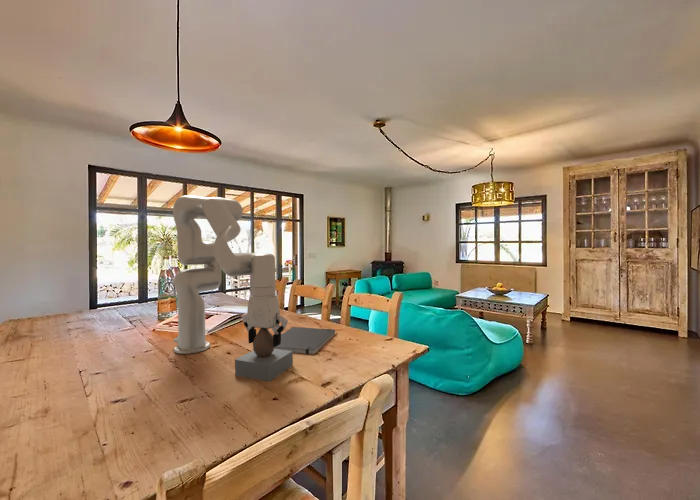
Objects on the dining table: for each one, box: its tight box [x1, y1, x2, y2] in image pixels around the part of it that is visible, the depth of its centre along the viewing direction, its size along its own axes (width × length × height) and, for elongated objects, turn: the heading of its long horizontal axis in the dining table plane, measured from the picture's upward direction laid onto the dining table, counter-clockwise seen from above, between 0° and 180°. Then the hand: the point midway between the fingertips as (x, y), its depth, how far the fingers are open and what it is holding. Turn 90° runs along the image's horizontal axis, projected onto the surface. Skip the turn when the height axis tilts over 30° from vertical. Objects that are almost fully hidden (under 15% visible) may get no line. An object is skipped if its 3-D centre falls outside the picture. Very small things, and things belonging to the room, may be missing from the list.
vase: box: [252, 328, 274, 357], centre depth 103 cm, size 7×7×9 cm
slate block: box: [234, 349, 294, 383], centre depth 103 cm, size 13×13×5 cm
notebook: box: [274, 326, 336, 355], centre depth 133 cm, size 22×2×28 cm
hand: (264, 343), depth 103 cm, fingers open, 9 cm apart
